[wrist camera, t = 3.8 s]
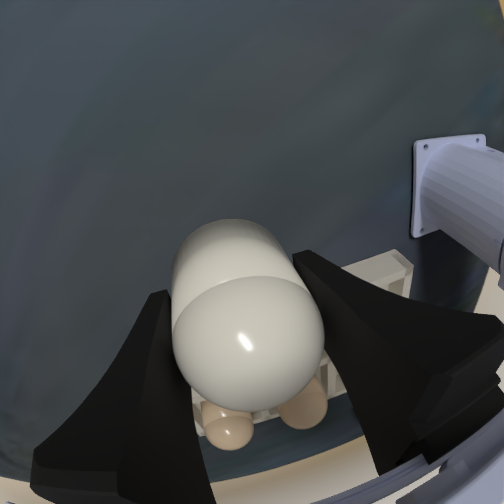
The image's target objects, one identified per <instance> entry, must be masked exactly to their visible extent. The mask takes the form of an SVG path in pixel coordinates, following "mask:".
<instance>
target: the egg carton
mask: <svg viewBox="0 0 504 504" xmlns="http://www.w3.org/2000/svg"><path fill="white" fill-rule="evenodd" d="M413 267H414V265H413V264H412V263H410V262H409V261H408V260H407V259H406V258H405V257H404V256H403V255H401V254H400V253H399V252H398V251H397V250H396V249H394V250H391V251H388V252H385V253H382V254H380V255H377V256H374V257H371V258H368V259H365V260H362V261H359V262H357V263H354V264H351V265H348V266H345V267H342V269H344V270H345V271H347V272H349V273H351V274H353V275H355V276H357V277H359V278H361V279H363V280H365V281H367V282H369V283H371V284H373V285H375V286H378V287H380V288H382V289H385V290H387V291H390V292H392V293H395V294H398V295H400V296H403V297H406V298H408V297H409V292H410V286H411V280H412V274H413ZM315 374H316V376H317V378H318V381H319V383H320V385H321V387H322V389H323V391H324V393H325V395H326V398H327V400H328V399H331V398H333V397H336V396H338V395H341V394H343V393H345V392H347V391H346V389H345V386H344V384H343V382H342V380H341V377H340V375H339V374H338V372H337V370H336V368H335V366H334V365H333V363H332V361H331V360H330V358H329V356H328V355H327V353H326V351H325V350H324V351H323V355H322V358H321V362H320V365H319V367H318V369H317V371H316V373H315ZM191 389H192V387H191ZM202 401H206V399H204V398H203V397H202V396H200V395H199V394H198V393H197V392H196V391H195V390H194V389H192V404H193V414H194V421H195V426H196V431H197V433H198V434H199V435H200V436H204V435H205V432H204V426H203V420H202V413H201V407H200V402H202ZM250 413H251V416H252V420H253V424H255V423H259V422H262V421H266V420H269V419H272V418H276V417H279V416H280V415H279V412H278V409H277V407H276V408H273V409H270V410H266V411H261V412H250Z"/></svg>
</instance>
